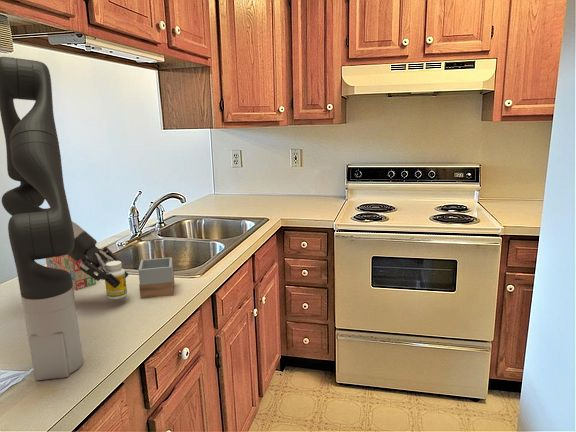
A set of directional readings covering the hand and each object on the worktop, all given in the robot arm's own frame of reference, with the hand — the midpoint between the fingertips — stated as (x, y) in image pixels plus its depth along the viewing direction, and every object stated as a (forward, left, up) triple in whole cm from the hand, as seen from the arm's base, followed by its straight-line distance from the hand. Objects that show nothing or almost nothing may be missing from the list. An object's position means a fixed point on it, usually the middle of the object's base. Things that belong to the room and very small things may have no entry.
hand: (122, 281), depth 120 cm
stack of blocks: (+22, +20, -7) cm, 31 cm away
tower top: (+6, -9, -2) cm, 11 cm away
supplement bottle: (0, +2, -4) cm, 5 cm away
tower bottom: (+7, -8, -7) cm, 13 cm away
